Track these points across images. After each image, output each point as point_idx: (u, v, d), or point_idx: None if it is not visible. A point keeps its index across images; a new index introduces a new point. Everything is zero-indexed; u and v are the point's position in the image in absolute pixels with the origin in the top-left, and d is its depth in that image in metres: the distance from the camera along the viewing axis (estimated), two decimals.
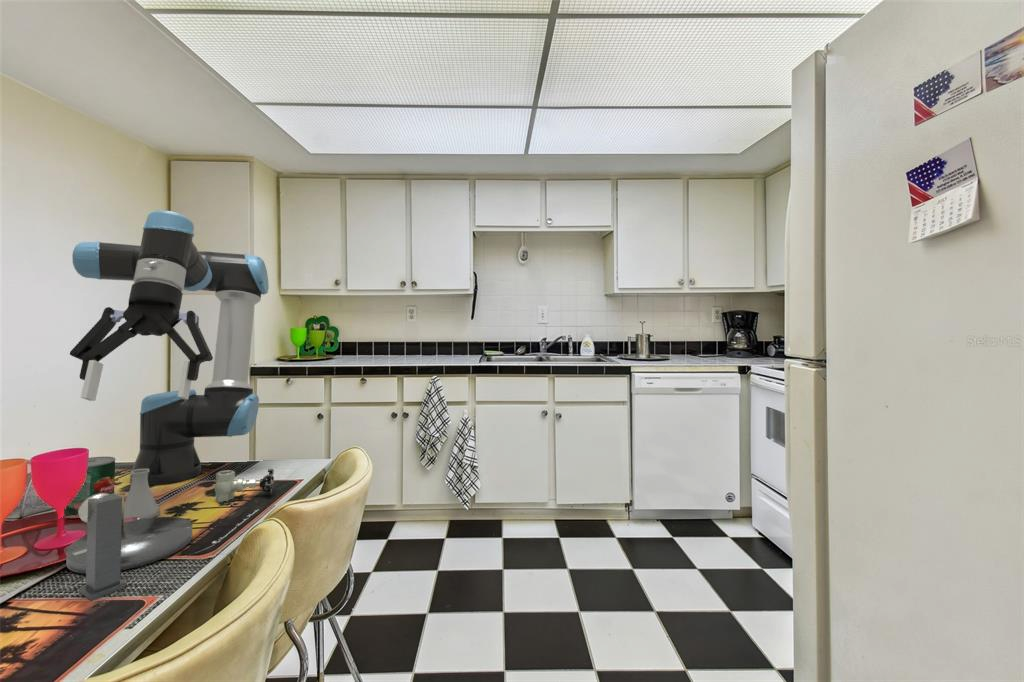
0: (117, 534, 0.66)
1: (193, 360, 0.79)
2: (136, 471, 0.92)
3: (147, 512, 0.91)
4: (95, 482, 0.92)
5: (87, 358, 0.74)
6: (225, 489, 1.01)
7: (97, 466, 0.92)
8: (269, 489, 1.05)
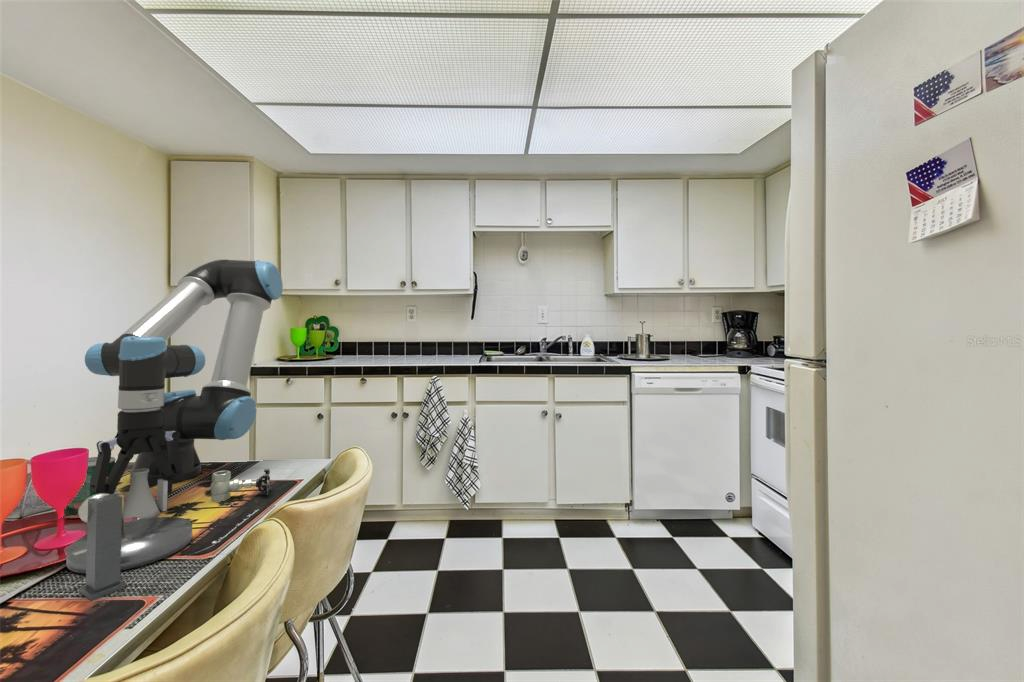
0: (117, 534, 0.66)
1: (170, 479, 0.96)
2: (136, 471, 0.92)
3: (147, 512, 0.91)
4: None
5: (113, 491, 0.87)
6: (221, 489, 1.01)
7: None
8: (265, 489, 1.05)
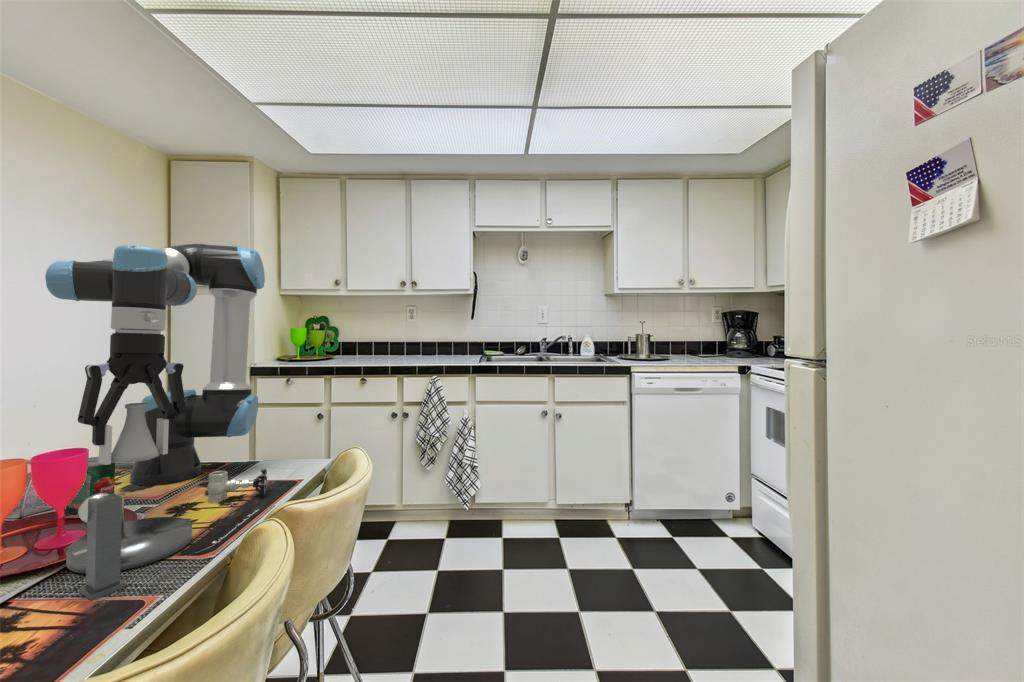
0: (117, 534, 0.66)
1: (172, 418, 0.82)
2: (132, 405, 0.79)
3: (145, 452, 0.77)
4: (95, 482, 0.92)
5: (104, 424, 0.74)
6: (218, 489, 1.01)
7: (97, 466, 0.92)
8: (263, 489, 1.05)
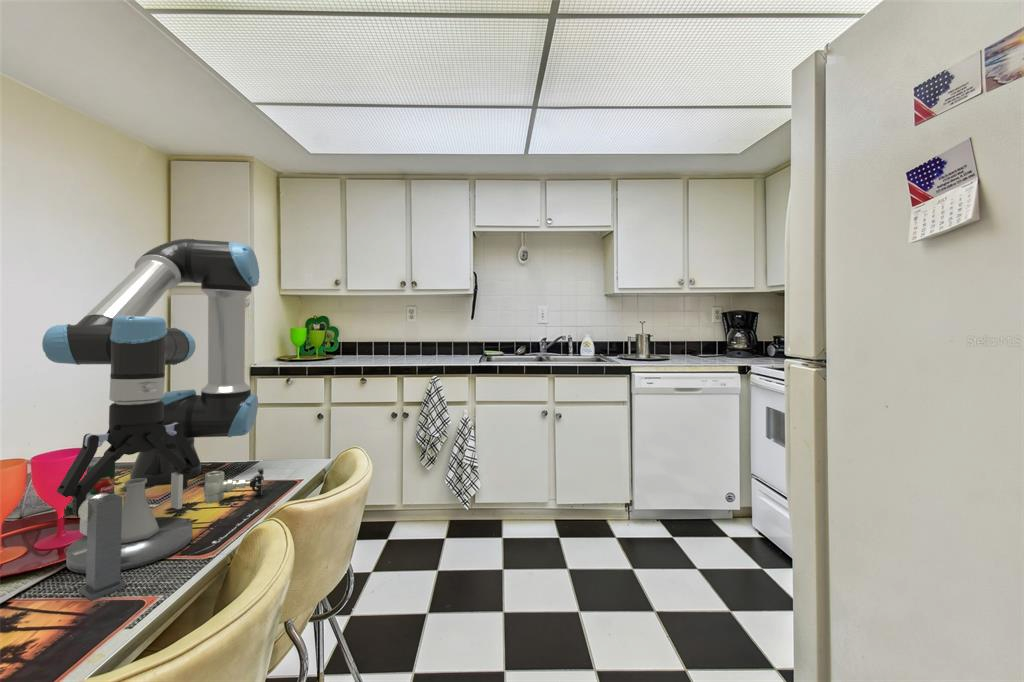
0: (117, 534, 0.66)
1: None
2: (131, 481, 0.79)
3: (145, 530, 0.77)
4: None
5: (84, 495, 0.71)
6: (215, 490, 1.01)
7: None
8: (260, 489, 1.05)
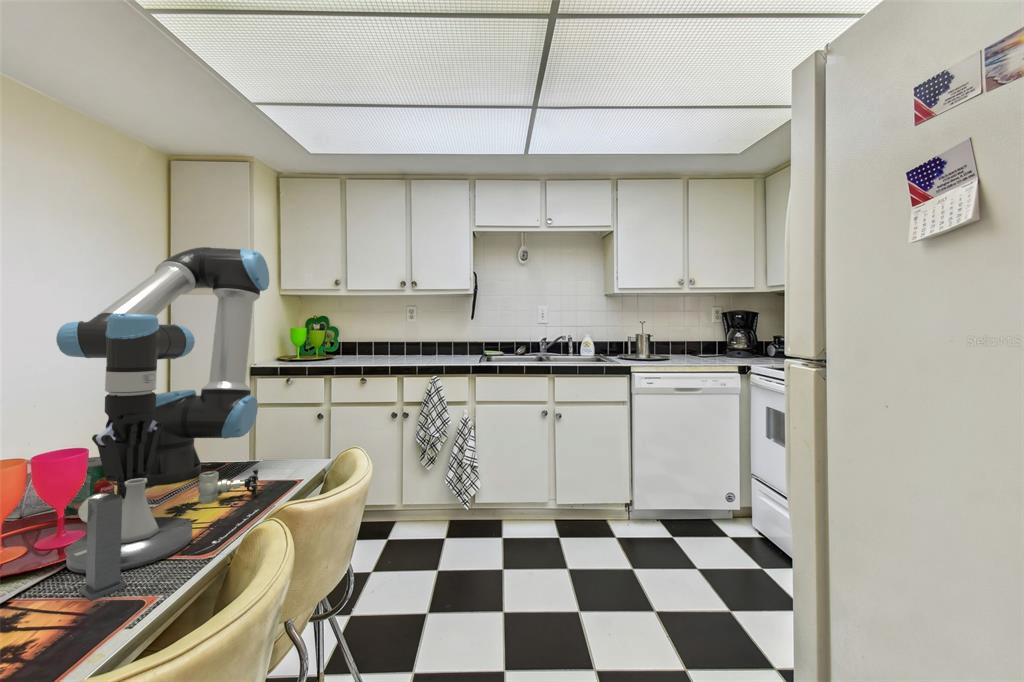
0: (117, 534, 0.66)
1: (139, 477, 0.85)
2: (131, 481, 0.79)
3: (146, 529, 0.77)
4: (95, 482, 0.92)
5: (131, 478, 0.83)
6: (209, 490, 1.00)
7: (97, 466, 0.92)
8: (254, 489, 1.04)
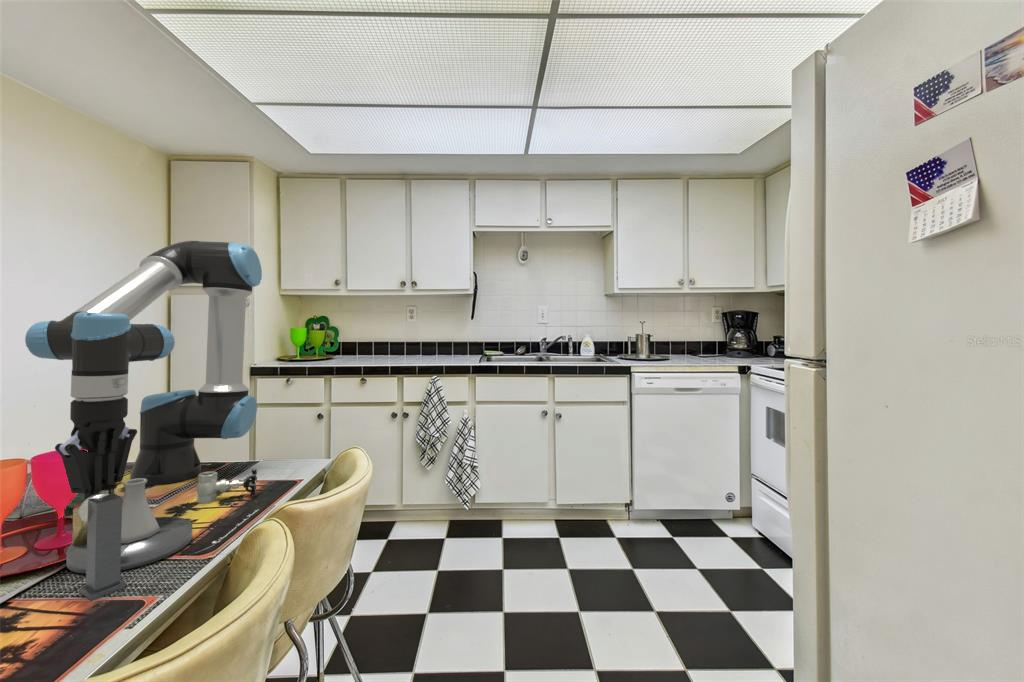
0: (117, 534, 0.66)
1: (110, 488, 0.79)
2: None
3: (156, 523, 0.80)
4: None
5: (100, 490, 0.78)
6: (208, 490, 1.00)
7: None
8: (253, 489, 1.04)
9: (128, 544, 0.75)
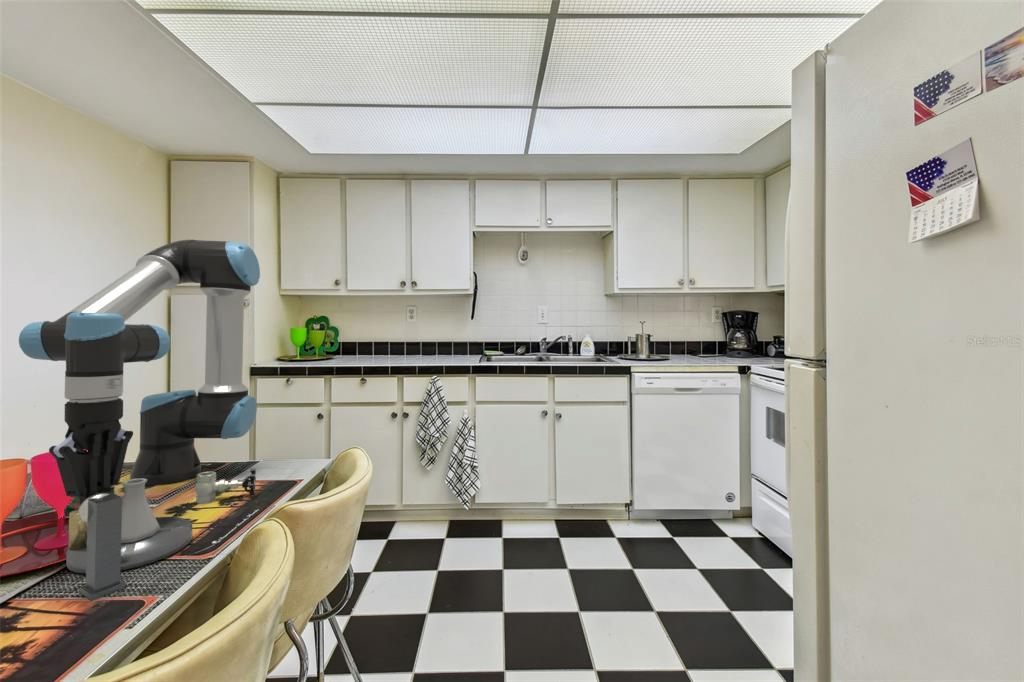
0: (117, 534, 0.66)
1: (106, 491, 0.78)
2: None
3: (157, 522, 0.80)
4: None
5: (95, 493, 0.76)
6: (207, 490, 1.00)
7: None
8: (252, 489, 1.04)
9: (134, 543, 0.76)
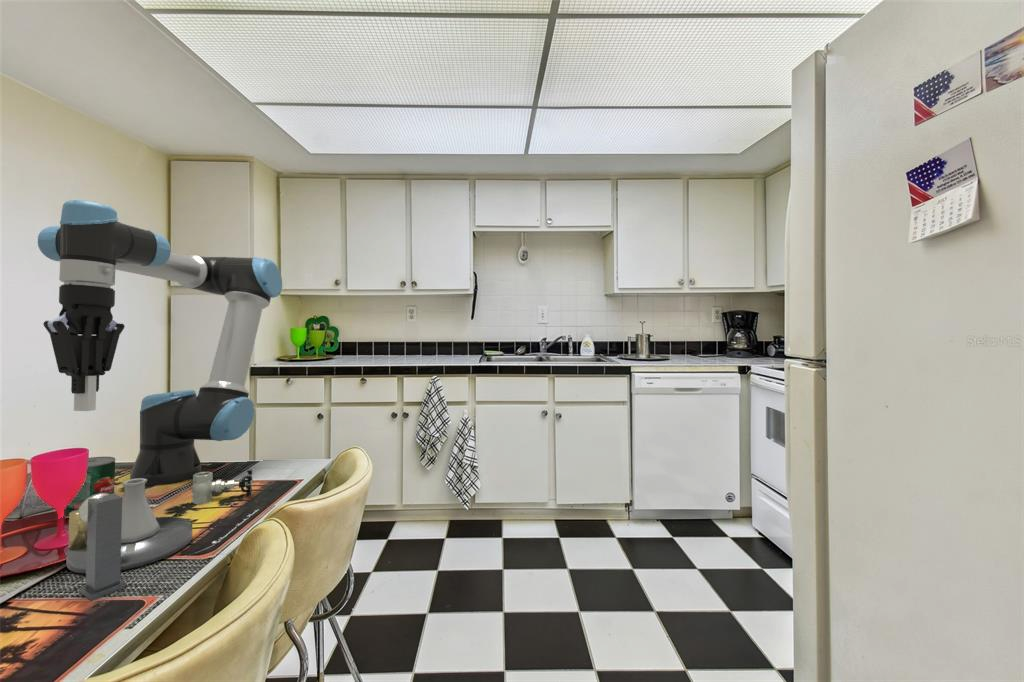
0: (117, 534, 0.66)
1: (98, 375, 0.83)
2: None
3: (157, 522, 0.80)
4: (95, 482, 0.92)
5: (86, 373, 0.81)
6: (203, 490, 1.00)
7: (97, 466, 0.92)
8: (249, 489, 1.04)
9: (134, 543, 0.76)
